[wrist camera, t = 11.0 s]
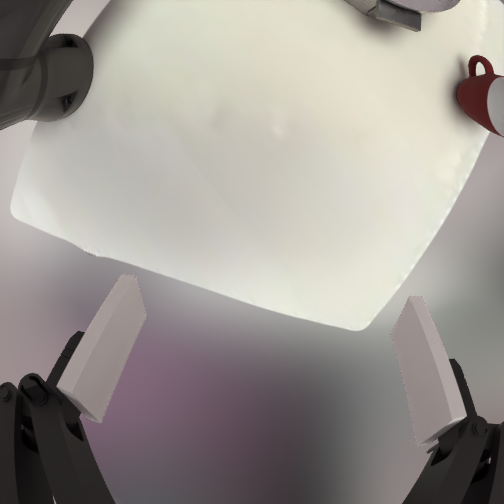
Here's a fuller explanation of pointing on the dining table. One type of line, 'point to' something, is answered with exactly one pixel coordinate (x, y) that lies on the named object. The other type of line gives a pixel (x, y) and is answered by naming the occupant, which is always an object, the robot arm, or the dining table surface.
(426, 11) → the lid
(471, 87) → the mug
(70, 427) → the robot arm
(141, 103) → the dining table surface
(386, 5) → the pot
